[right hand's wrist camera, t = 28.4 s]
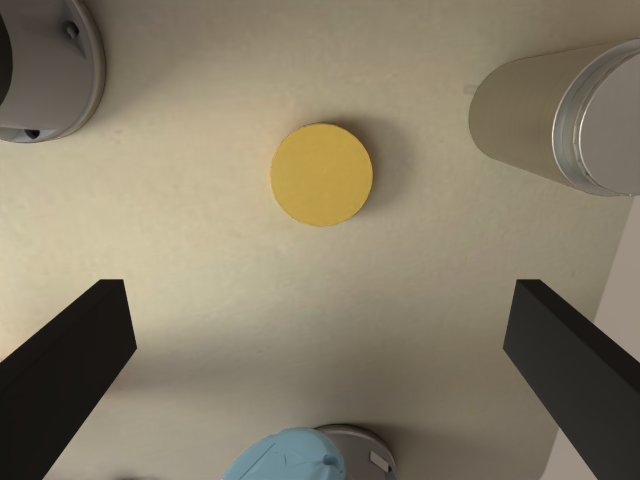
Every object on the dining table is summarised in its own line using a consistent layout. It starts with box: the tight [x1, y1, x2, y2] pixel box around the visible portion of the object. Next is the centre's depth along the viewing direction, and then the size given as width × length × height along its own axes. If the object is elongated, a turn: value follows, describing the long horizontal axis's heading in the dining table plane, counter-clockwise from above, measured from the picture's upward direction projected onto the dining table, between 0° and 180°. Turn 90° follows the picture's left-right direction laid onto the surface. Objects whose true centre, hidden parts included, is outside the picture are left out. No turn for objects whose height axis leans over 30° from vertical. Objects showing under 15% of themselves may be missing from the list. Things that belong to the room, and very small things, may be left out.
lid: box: [270, 123, 373, 226], centre depth 37 cm, size 10×10×2 cm
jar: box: [469, 38, 640, 196], centre depth 28 cm, size 9×9×16 cm
